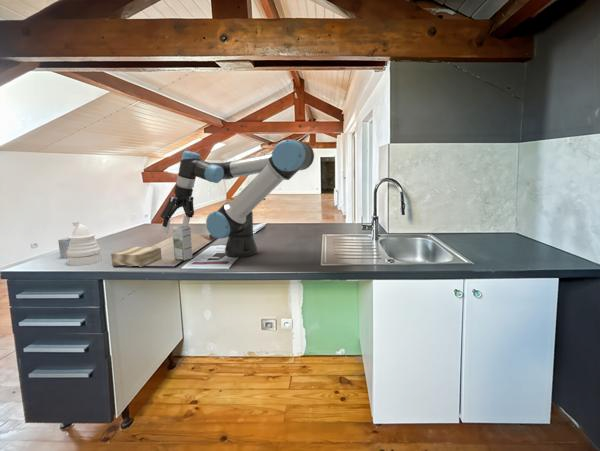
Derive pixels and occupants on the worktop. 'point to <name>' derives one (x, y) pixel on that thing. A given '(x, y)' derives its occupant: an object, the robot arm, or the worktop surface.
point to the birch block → (136, 256)
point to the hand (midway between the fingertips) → (174, 231)
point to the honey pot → (83, 246)
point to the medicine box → (63, 247)
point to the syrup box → (182, 242)
